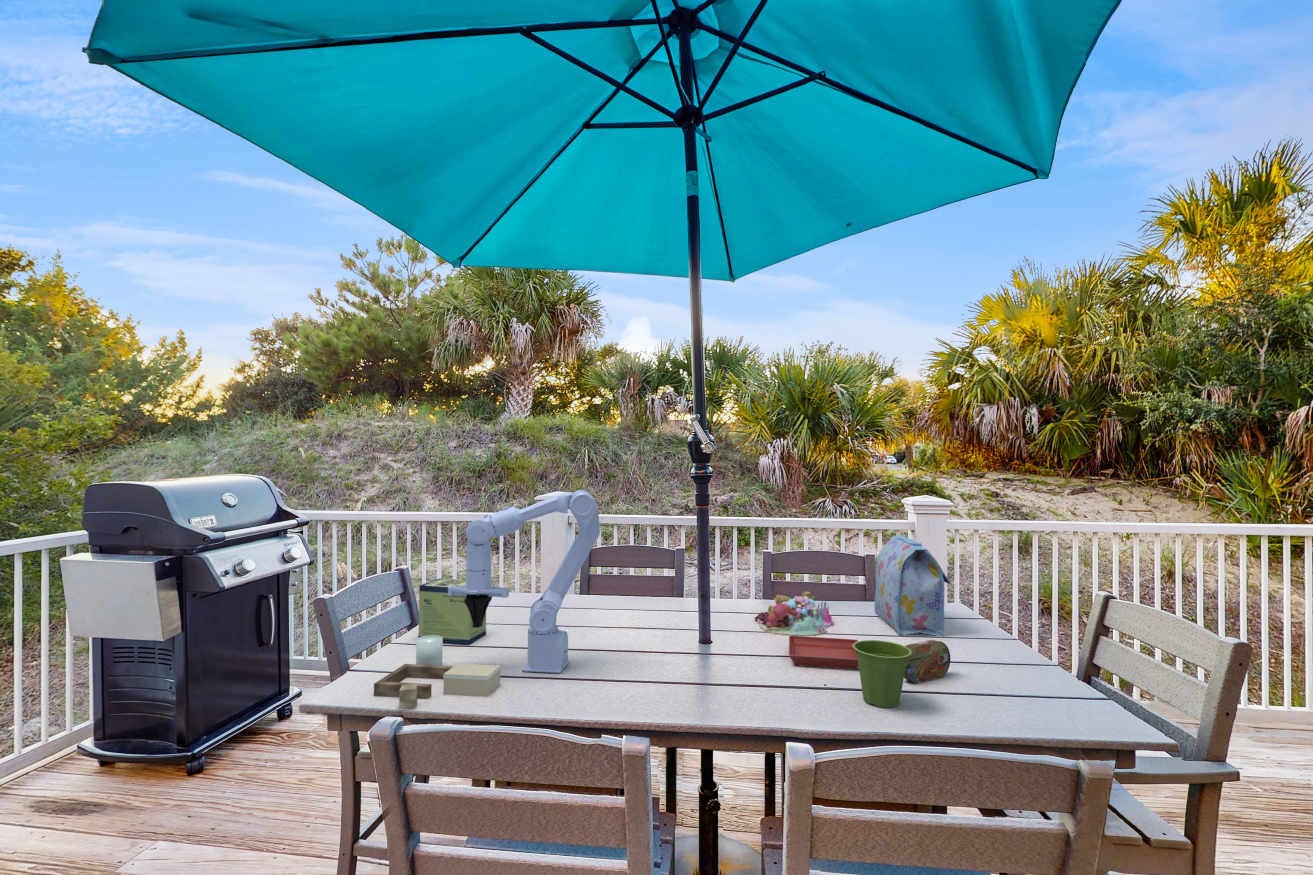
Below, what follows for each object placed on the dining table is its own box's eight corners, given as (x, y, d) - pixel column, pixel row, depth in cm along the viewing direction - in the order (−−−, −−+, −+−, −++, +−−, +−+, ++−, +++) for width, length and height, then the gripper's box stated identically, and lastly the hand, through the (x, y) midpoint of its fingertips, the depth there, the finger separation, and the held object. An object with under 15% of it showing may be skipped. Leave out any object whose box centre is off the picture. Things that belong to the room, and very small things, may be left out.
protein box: (469, 645, 172) (470, 587, 173) (417, 641, 176) (417, 584, 176) (487, 634, 183) (488, 580, 183) (437, 631, 186) (438, 577, 186)
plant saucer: (788, 646, 174) (788, 634, 175) (857, 651, 171) (857, 638, 171) (788, 668, 157) (788, 654, 157) (865, 673, 153) (865, 659, 153)
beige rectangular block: (500, 685, 144) (500, 665, 144) (488, 697, 137) (488, 676, 137) (457, 683, 145) (457, 663, 145) (443, 695, 138) (443, 674, 138)
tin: (906, 685, 144) (906, 648, 145) (895, 681, 147) (895, 644, 147) (951, 675, 151) (951, 639, 152) (940, 671, 154) (940, 636, 154)
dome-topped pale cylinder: (446, 664, 157) (446, 635, 158) (435, 672, 151) (435, 642, 152) (423, 662, 158) (423, 634, 158) (411, 671, 152) (411, 641, 152)
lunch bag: (955, 637, 182) (955, 544, 183) (896, 637, 183) (896, 543, 183) (923, 617, 205) (923, 534, 206) (871, 616, 205) (870, 533, 206)
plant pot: (880, 716, 127) (880, 659, 127) (840, 695, 138) (840, 643, 138) (925, 707, 132) (924, 652, 132) (883, 688, 143) (883, 637, 143)
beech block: (417, 703, 133) (417, 683, 133) (414, 708, 130) (415, 688, 130) (401, 704, 132) (401, 684, 132) (399, 710, 129) (399, 690, 129)
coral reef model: (746, 616, 207) (747, 587, 207) (817, 614, 209) (817, 586, 210) (769, 638, 182) (769, 605, 182) (848, 636, 184) (848, 604, 185)
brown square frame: (454, 677, 148) (454, 666, 148) (428, 698, 135) (428, 686, 135) (404, 674, 150) (405, 663, 150) (373, 695, 137) (373, 683, 137)
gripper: (442, 571, 150) (441, 629, 150) (501, 573, 149) (500, 632, 148) (455, 566, 157) (454, 621, 157) (512, 568, 156) (511, 624, 155)
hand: (477, 626), depth 153 cm, fingers closed
